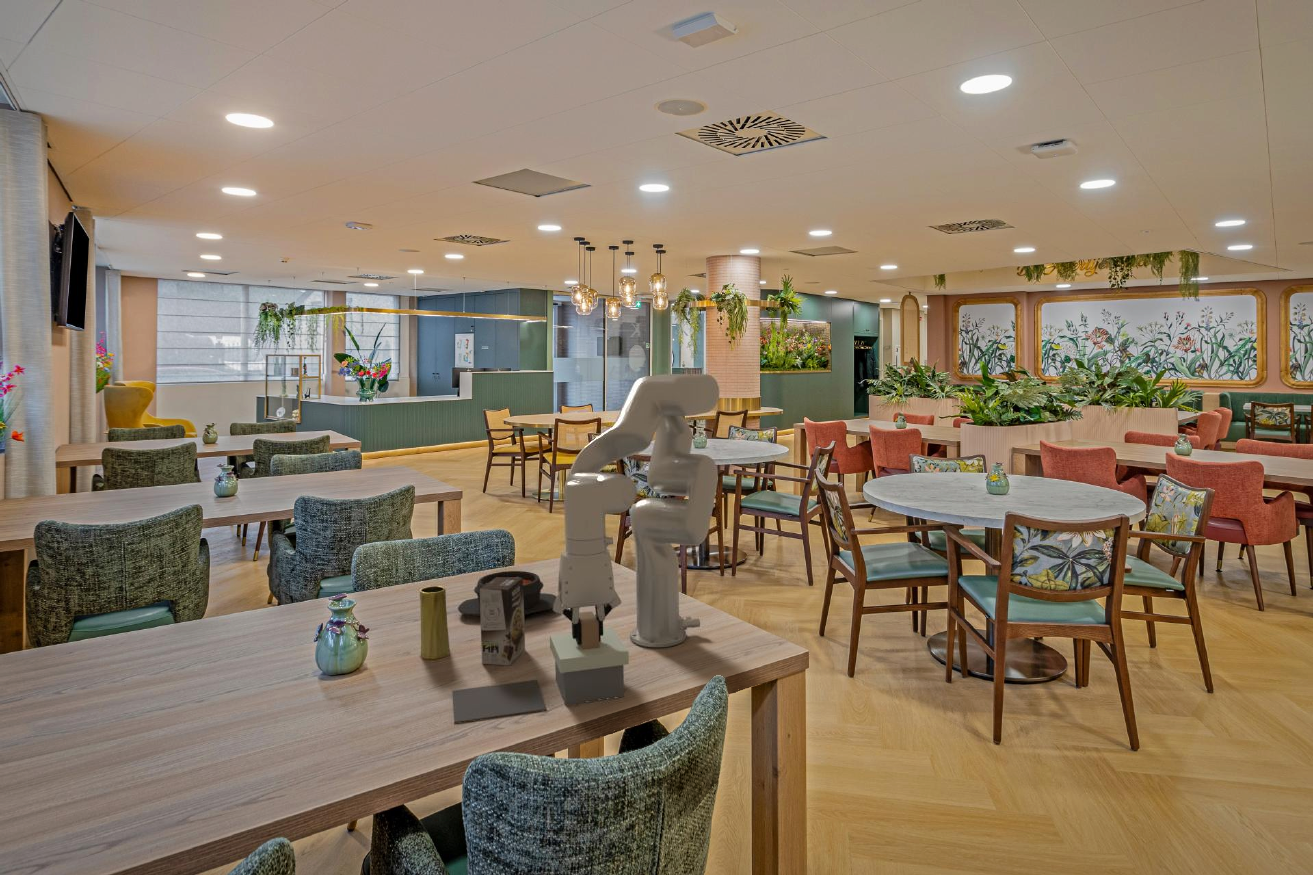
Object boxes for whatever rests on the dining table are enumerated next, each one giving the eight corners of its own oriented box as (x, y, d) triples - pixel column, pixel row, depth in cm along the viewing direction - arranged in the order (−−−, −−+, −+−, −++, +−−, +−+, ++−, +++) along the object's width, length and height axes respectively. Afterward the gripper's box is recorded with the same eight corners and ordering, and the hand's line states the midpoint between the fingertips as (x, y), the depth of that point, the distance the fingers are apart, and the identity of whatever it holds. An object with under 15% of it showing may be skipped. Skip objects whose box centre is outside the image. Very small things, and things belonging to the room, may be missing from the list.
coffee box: (510, 666, 156) (507, 589, 154) (480, 664, 157) (477, 588, 155) (526, 649, 165) (524, 576, 163) (498, 647, 166) (496, 575, 164)
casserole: (455, 628, 178) (454, 593, 177) (460, 603, 196) (459, 571, 195) (562, 620, 183) (561, 586, 182) (558, 596, 201) (557, 565, 200)
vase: (434, 662, 158) (431, 595, 157) (414, 656, 162) (411, 591, 160) (456, 652, 164) (453, 587, 162) (436, 646, 167) (433, 583, 165)
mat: (537, 681, 148) (537, 679, 148) (546, 710, 136) (546, 708, 136) (452, 692, 144) (452, 690, 144) (454, 723, 131) (454, 722, 131)
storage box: (610, 673, 151) (609, 634, 151) (624, 696, 141) (623, 655, 140) (555, 680, 148) (554, 641, 147) (565, 705, 138) (564, 662, 137)
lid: (613, 640, 152) (612, 603, 151) (628, 664, 140) (628, 624, 139) (550, 647, 148) (549, 610, 147) (560, 673, 136) (559, 632, 135)
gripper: (623, 537, 148) (624, 629, 149) (539, 544, 143) (541, 638, 145) (633, 546, 140) (634, 642, 142) (544, 554, 136) (547, 653, 138)
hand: (587, 639), depth 144 cm, fingers closed on lid, 3 cm apart
